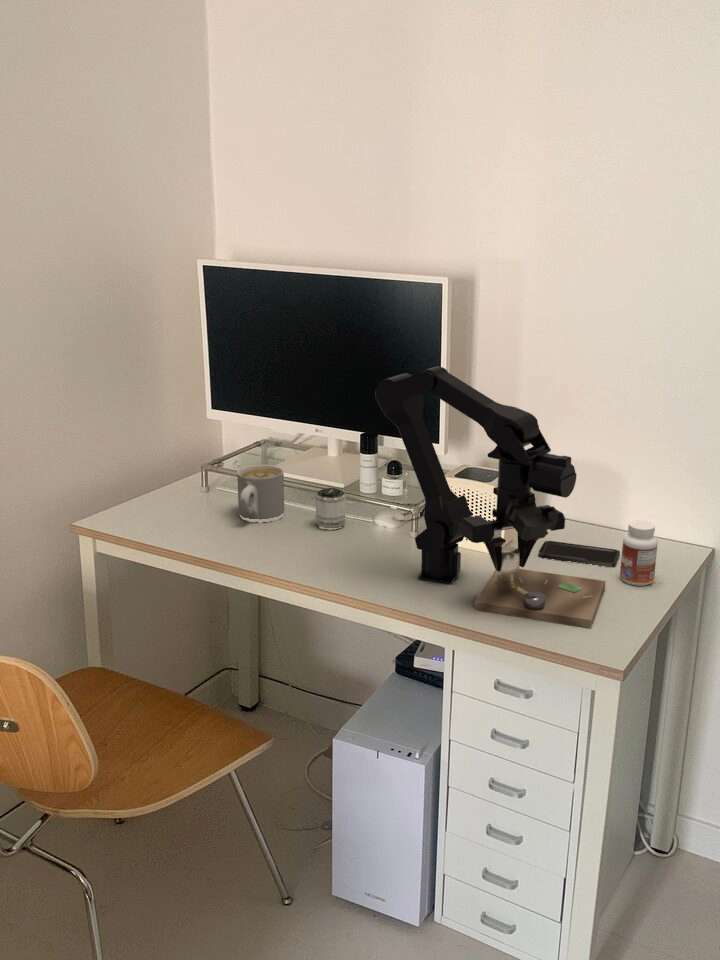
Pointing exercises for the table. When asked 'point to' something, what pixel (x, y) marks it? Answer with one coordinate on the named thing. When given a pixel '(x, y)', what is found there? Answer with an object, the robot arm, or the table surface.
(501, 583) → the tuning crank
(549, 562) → the table surface
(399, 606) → the table surface
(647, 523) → the pill bottle
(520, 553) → the robot arm
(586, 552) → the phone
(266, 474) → the coffee mug
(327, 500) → the glass jar
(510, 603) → the wooden serving board
